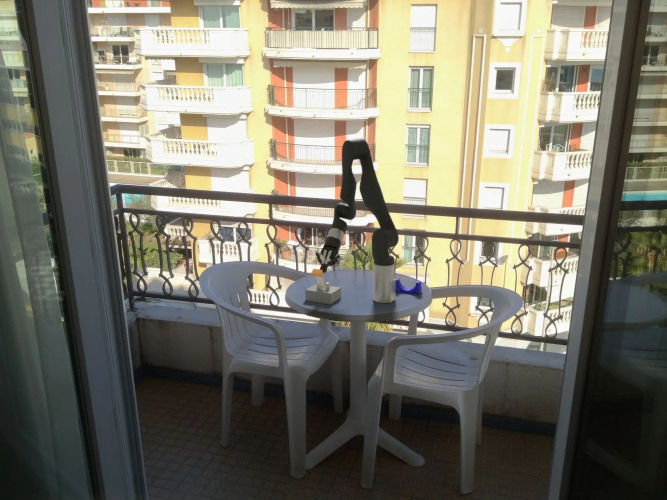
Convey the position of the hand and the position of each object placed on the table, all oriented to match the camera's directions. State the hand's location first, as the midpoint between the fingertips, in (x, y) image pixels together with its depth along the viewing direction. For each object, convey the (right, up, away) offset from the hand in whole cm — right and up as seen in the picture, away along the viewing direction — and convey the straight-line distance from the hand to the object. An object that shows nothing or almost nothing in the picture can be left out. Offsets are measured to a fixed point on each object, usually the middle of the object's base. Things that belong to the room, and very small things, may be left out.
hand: (322, 272), depth 266 cm
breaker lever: (0, -7, +3) cm, 8 cm away
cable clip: (+40, -10, +14) cm, 44 cm away
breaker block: (+1, -12, +4) cm, 13 cm away
